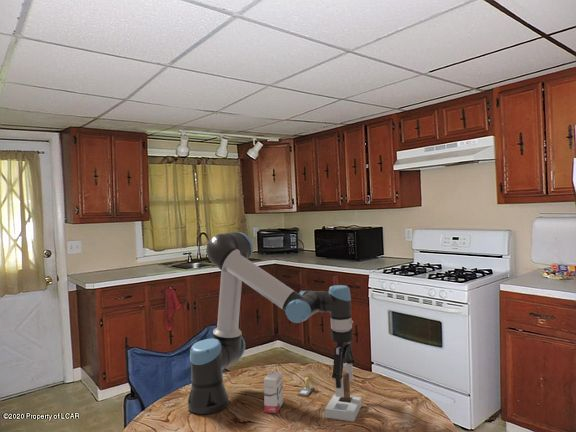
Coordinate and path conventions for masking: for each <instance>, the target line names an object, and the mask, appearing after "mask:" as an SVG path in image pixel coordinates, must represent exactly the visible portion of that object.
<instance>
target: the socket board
mask: <svg viewBox="0 0 576 432" xmlns="http://www.w3.org/2000/svg"><path fill="white" fill-rule="evenodd" d="M362 406H363V405H362V396H360V397H359V396H353V395H350V403H349V402H341V397H336V393H334V394H333V395H332V397H331V399H330V400H329V401H328V403H327V405H326V407H324V418H326V419H333V420H341V421H348V422H355V421H356V418H357V416H358V414H359V412H360V410H361V407H362Z"/></svg>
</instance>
